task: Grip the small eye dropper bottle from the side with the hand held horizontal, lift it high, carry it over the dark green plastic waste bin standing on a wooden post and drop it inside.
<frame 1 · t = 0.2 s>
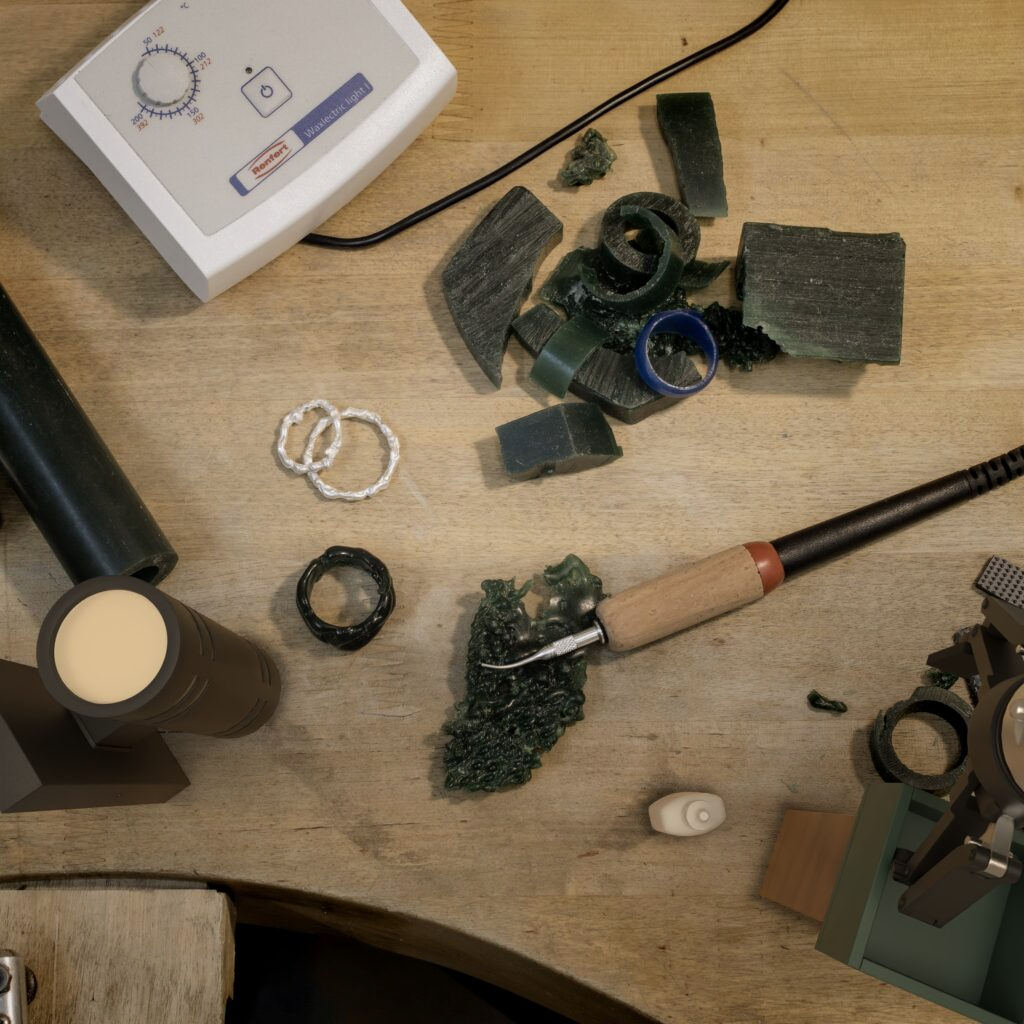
hand: (918, 760, 72), 27 cm above the workbench, tool pointing down, fingers open, 13 cm apart
waste bin: (922, 898, 71), resting on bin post
eye dropper bottle: (678, 812, 96), on the workbench
light fixture: (207, 708, 98), on the workbench
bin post: (813, 868, 95), on the workbench
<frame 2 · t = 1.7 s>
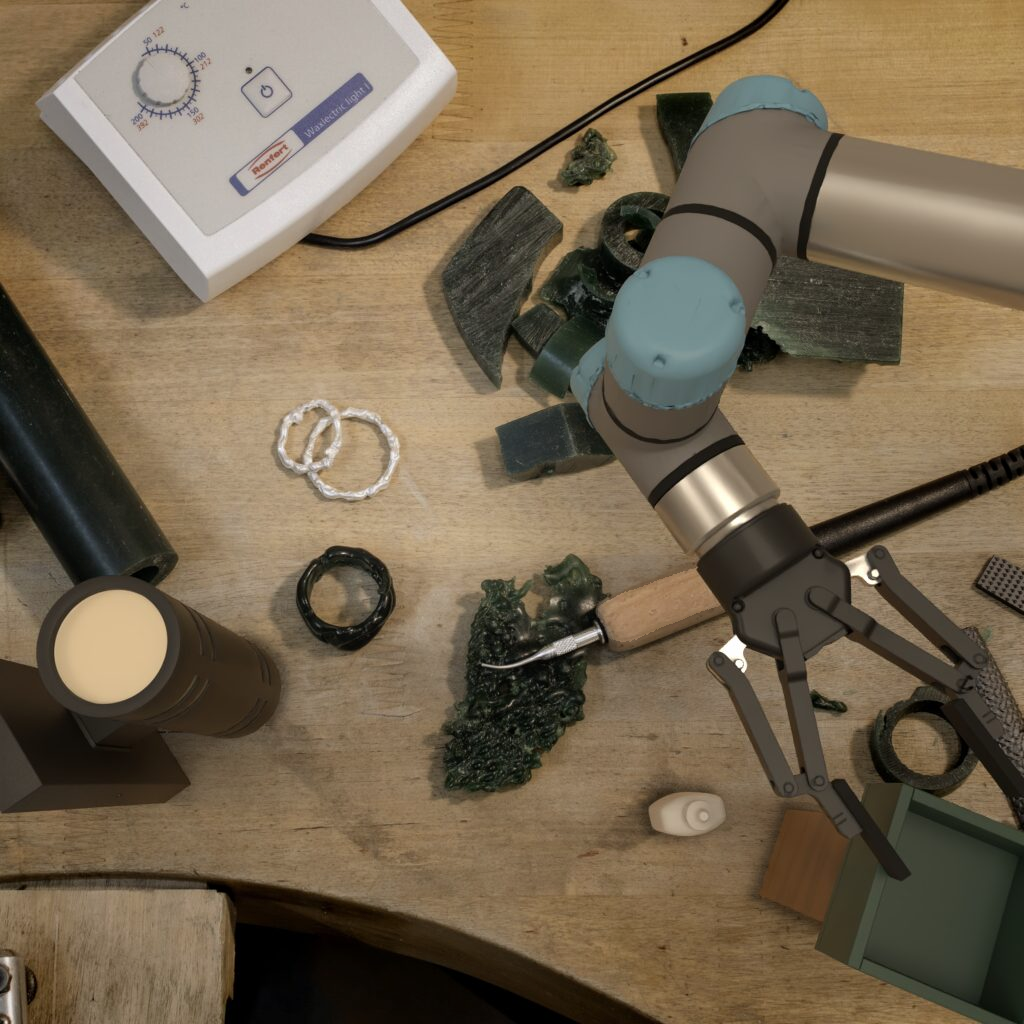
hand: (960, 834, 64), 34 cm above the workbench, tool horizontal, fingers open, 8 cm apart
nothing on the workbench moved.
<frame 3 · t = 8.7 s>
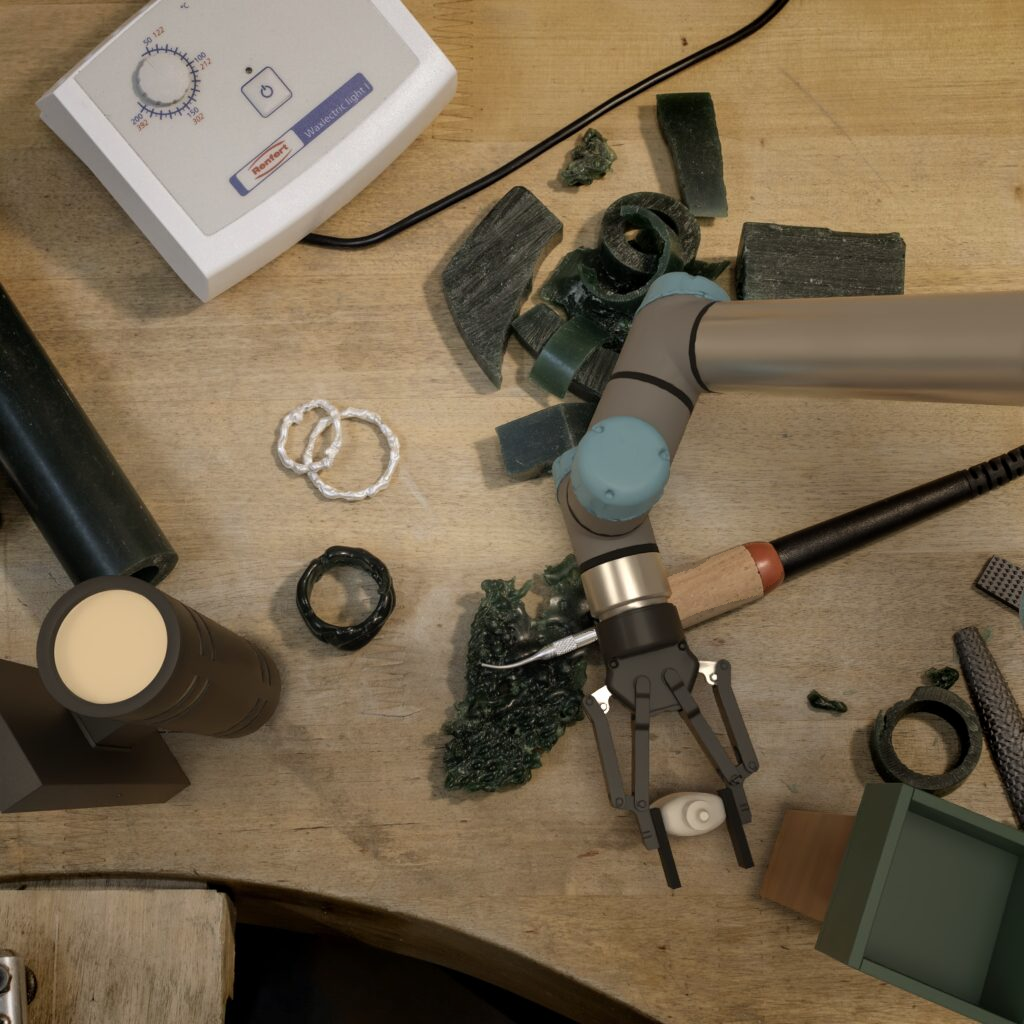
hand: (710, 876, 88), 7 cm above the workbench, tool horizontal, fingers closed on eye dropper bottle, 6 cm apart
eye dropper bottle: (678, 812, 96), on the workbench, touching gripper
everything else where it was.
when the fingers open (36 cm above the workbench, at t = 20.2 s): eye dropper bottle drops 3 cm, resting on waste bin.
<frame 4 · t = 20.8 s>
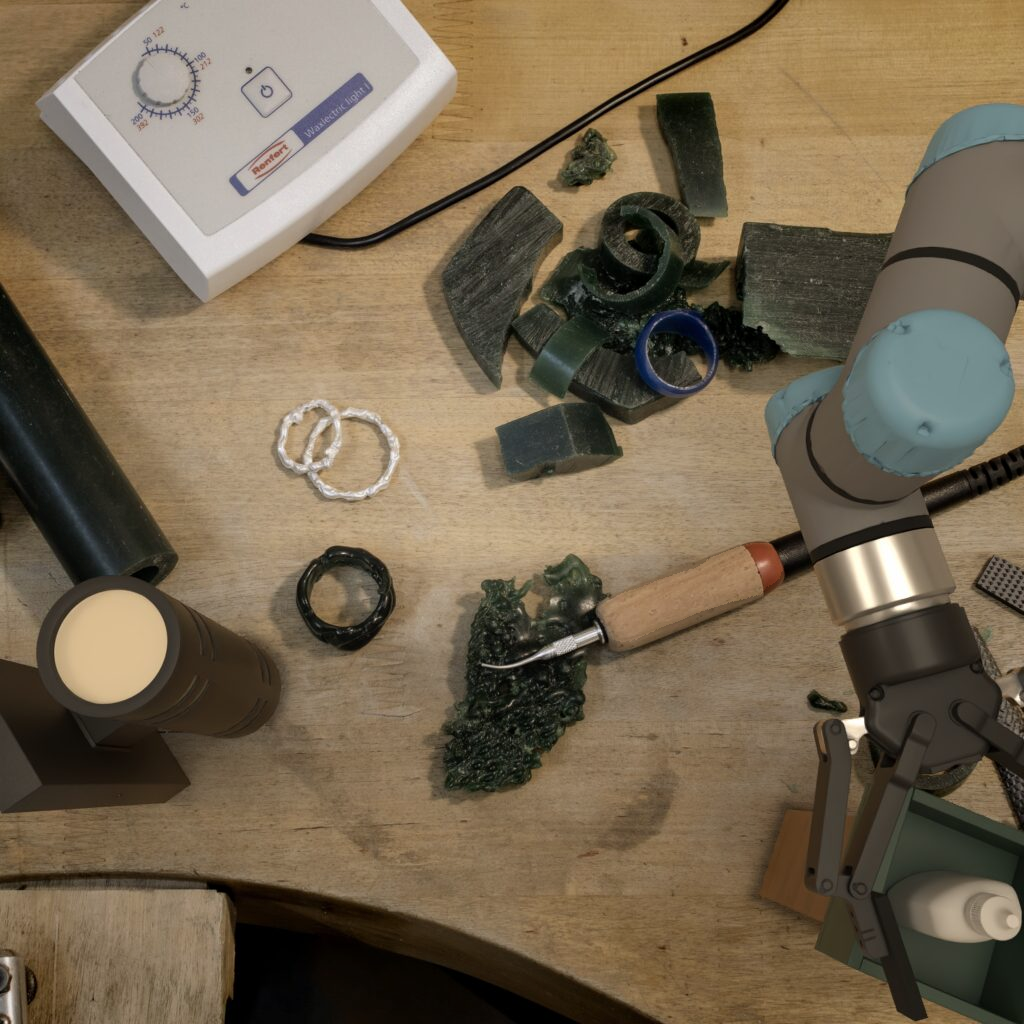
eye dropper bottle: (925, 898, 70), point 26 cm above the workbench, touching waste bin
everything else where it was.
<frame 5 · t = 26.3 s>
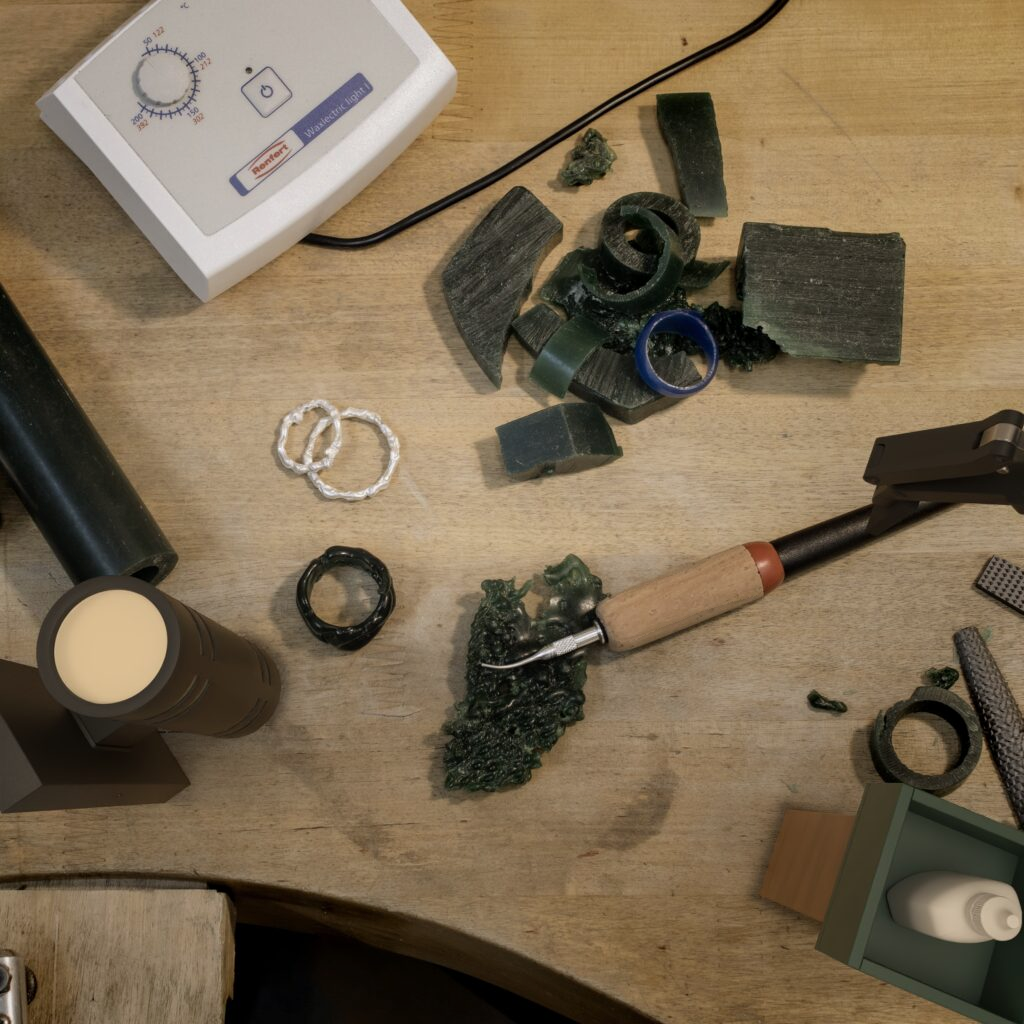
hand: (981, 555, 65), 37 cm above the workbench, tool pointing down, fingers open, 13 cm apart
nothing on the workbench moved.
at the end: eye dropper bottle inside the target area on the waste bin (0.1 cm from its centre), point 0.6 cm above the waste bin's base; the gripper is holding nothing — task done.
